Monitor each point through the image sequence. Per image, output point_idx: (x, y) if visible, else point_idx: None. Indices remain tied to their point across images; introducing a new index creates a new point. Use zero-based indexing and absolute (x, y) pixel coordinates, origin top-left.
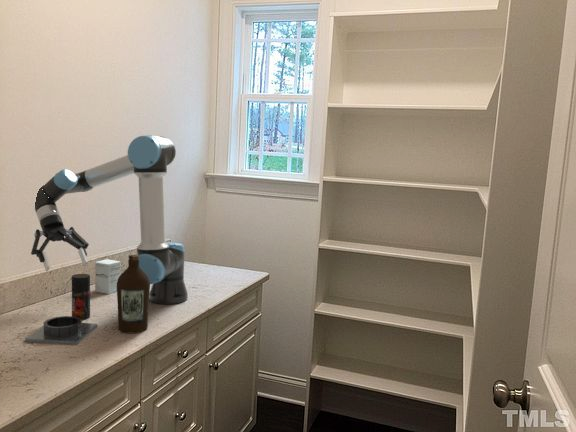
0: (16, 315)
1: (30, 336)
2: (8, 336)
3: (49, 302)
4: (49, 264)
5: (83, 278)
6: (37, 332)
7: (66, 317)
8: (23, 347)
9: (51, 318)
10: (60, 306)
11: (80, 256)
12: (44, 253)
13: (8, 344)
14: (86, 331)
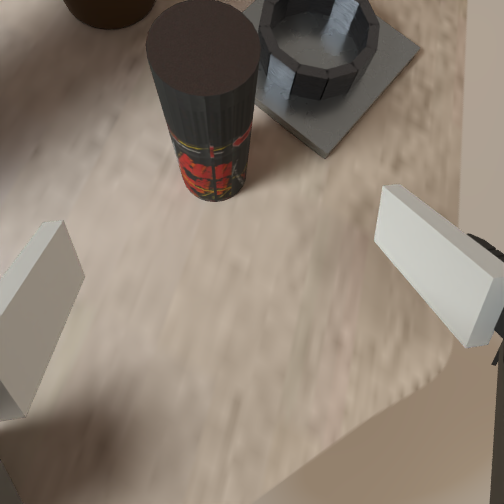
0: (414, 313)
1: (404, 55)
2: (452, 117)
3: (268, 436)
4: (393, 195)
5: (206, 3)
6: (381, 75)
7: (297, 62)
8: (422, 21)
9: (346, 73)
10: (242, 347)
11: (50, 343)
12: (485, 261)
13: (455, 59)
14: (252, 10)
